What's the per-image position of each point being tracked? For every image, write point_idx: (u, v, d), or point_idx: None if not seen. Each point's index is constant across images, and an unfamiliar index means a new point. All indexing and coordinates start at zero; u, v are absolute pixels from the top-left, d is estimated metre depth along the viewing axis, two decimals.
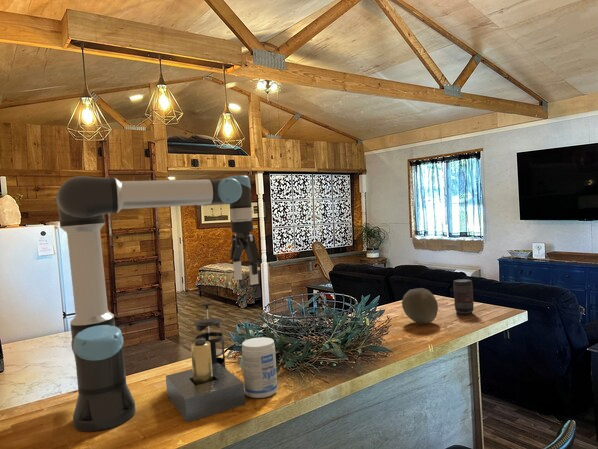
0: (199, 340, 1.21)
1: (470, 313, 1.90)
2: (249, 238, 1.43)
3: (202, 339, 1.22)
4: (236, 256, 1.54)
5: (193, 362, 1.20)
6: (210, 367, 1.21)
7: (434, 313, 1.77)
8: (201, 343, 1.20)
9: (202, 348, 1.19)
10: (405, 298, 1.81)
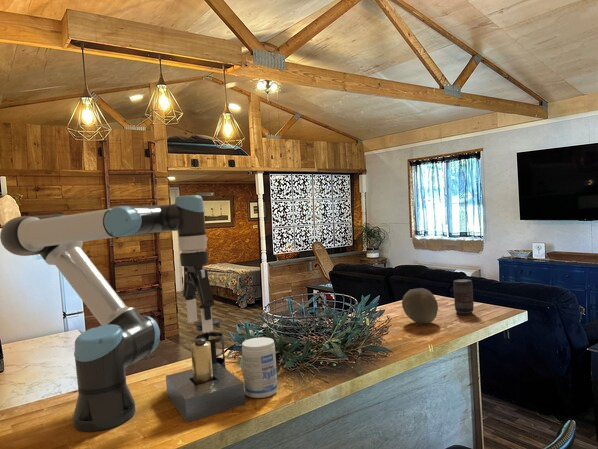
0: (199, 340, 1.21)
1: (470, 313, 1.90)
2: (200, 274, 1.14)
3: (202, 339, 1.22)
4: (189, 293, 1.26)
5: (193, 362, 1.20)
6: (210, 367, 1.21)
7: (434, 313, 1.77)
8: (201, 343, 1.20)
9: (202, 348, 1.19)
10: (405, 298, 1.81)
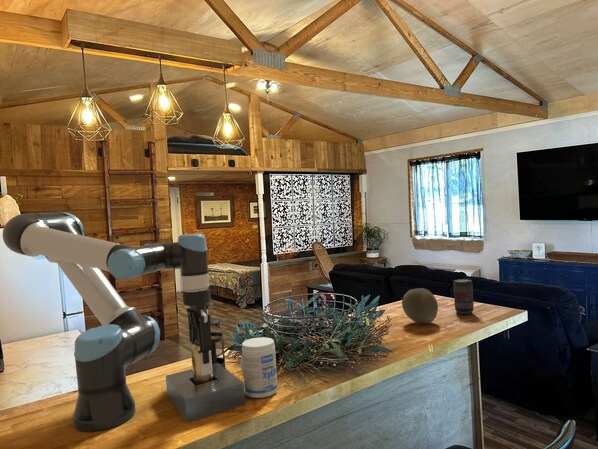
0: None
1: (470, 313, 1.90)
2: (203, 320, 1.15)
3: None
4: (195, 336, 1.23)
5: (193, 362, 1.20)
6: None
7: (434, 313, 1.77)
8: None
9: None
10: (405, 298, 1.81)
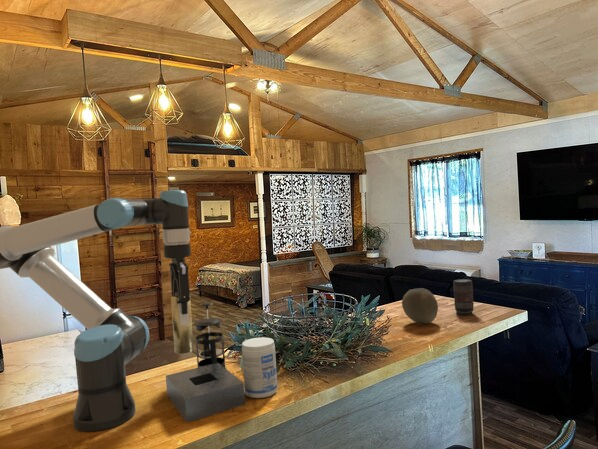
0: None
1: (470, 313, 1.90)
2: (181, 271, 1.20)
3: None
4: (176, 290, 1.29)
5: (173, 313, 1.25)
6: (189, 319, 1.26)
7: (434, 313, 1.77)
8: None
9: None
10: (405, 298, 1.81)
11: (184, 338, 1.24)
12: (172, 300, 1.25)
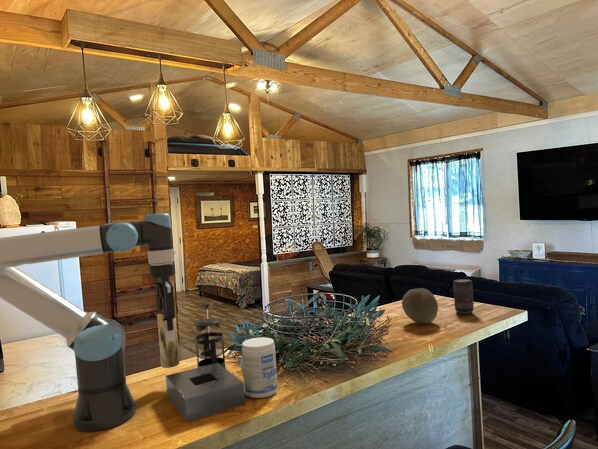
0: None
1: (470, 313, 1.90)
2: (166, 290, 1.27)
3: None
4: (161, 307, 1.35)
5: (159, 329, 1.32)
6: (175, 334, 1.33)
7: (434, 313, 1.77)
8: None
9: None
10: (405, 298, 1.81)
11: (170, 353, 1.31)
12: (158, 317, 1.31)
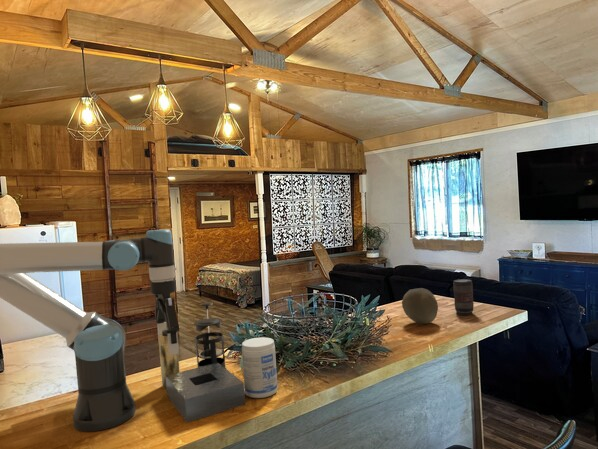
0: None
1: (470, 313, 1.90)
2: (167, 302, 1.27)
3: None
4: (160, 317, 1.38)
5: (160, 351, 1.32)
6: (176, 355, 1.33)
7: (434, 313, 1.77)
8: None
9: None
10: (405, 298, 1.81)
11: None
12: (159, 339, 1.32)
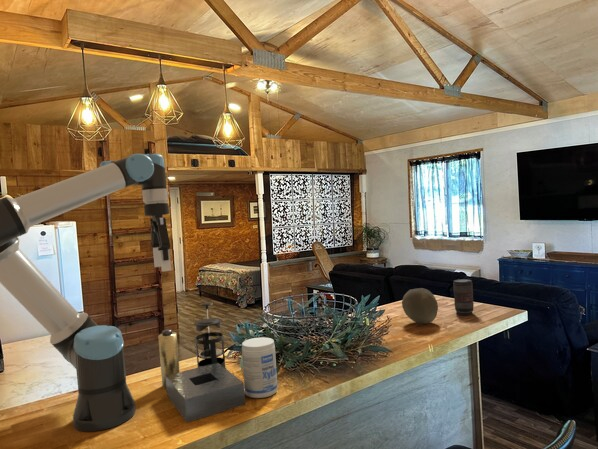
0: (166, 331, 1.33)
1: (470, 313, 1.90)
2: (159, 221, 1.32)
3: (169, 330, 1.34)
4: (155, 241, 1.44)
5: (160, 351, 1.32)
6: (176, 355, 1.33)
7: (434, 313, 1.77)
8: (168, 333, 1.32)
9: (168, 338, 1.31)
10: (405, 298, 1.81)
11: None
12: (159, 339, 1.32)
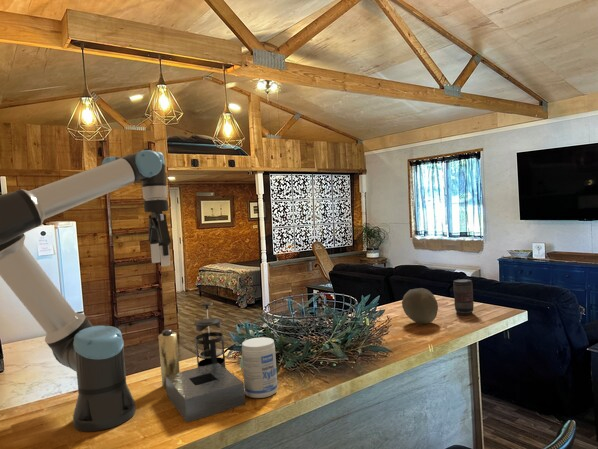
0: (166, 331, 1.33)
1: (470, 313, 1.90)
2: (159, 217, 1.35)
3: (169, 330, 1.34)
4: (153, 238, 1.47)
5: (160, 351, 1.32)
6: (176, 355, 1.33)
7: (434, 313, 1.77)
8: (168, 333, 1.32)
9: (168, 338, 1.31)
10: (405, 298, 1.81)
11: None
12: (159, 338, 1.32)
